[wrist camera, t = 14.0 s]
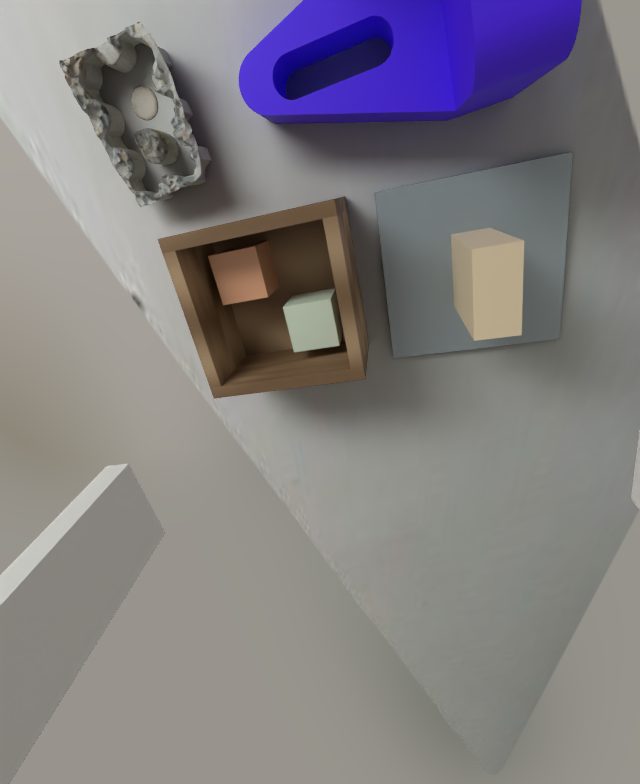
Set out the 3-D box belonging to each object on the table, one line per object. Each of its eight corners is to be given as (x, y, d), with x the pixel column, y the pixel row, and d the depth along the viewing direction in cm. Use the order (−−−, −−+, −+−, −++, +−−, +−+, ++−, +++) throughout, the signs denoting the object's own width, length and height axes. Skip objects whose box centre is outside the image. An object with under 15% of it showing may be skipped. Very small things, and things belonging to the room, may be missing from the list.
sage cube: (292, 295, 37) (282, 307, 33) (335, 287, 36) (330, 298, 32) (302, 337, 38) (293, 352, 35) (343, 330, 37) (339, 345, 34)
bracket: (495, -110, 25) (575, -325, 14) (512, 97, 29) (583, 47, 19) (232, 16, 29) (148, -78, 19) (280, 179, 34) (233, 175, 23)
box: (202, 229, 36) (157, 239, 29) (344, 196, 33) (334, 198, 26) (243, 362, 42) (213, 398, 34) (368, 344, 39) (365, 379, 32)
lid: (374, 192, 33) (371, 193, 24) (567, 152, 30) (642, 138, 21) (393, 354, 39) (395, 403, 30) (555, 335, 36) (610, 382, 27)
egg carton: (88, 68, 32) (50, 53, 29) (168, 27, 30) (138, 5, 27) (149, 209, 36) (122, 211, 33) (223, 181, 34) (204, 180, 31)
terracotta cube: (225, 249, 36) (207, 256, 32) (268, 240, 35) (254, 246, 31) (238, 294, 37) (223, 305, 34) (279, 286, 36) (268, 297, 33)
